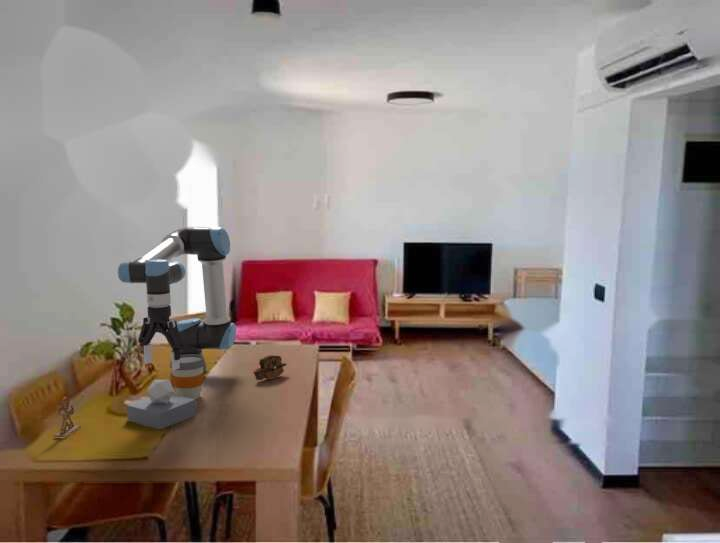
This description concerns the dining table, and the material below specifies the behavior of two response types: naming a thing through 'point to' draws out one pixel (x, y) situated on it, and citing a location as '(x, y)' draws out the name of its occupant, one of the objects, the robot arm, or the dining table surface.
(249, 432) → the dining table surface
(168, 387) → the die
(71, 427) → the brown figurine
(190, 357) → the reusable coffee cup
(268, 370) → the wooden carving
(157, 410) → the slate block
